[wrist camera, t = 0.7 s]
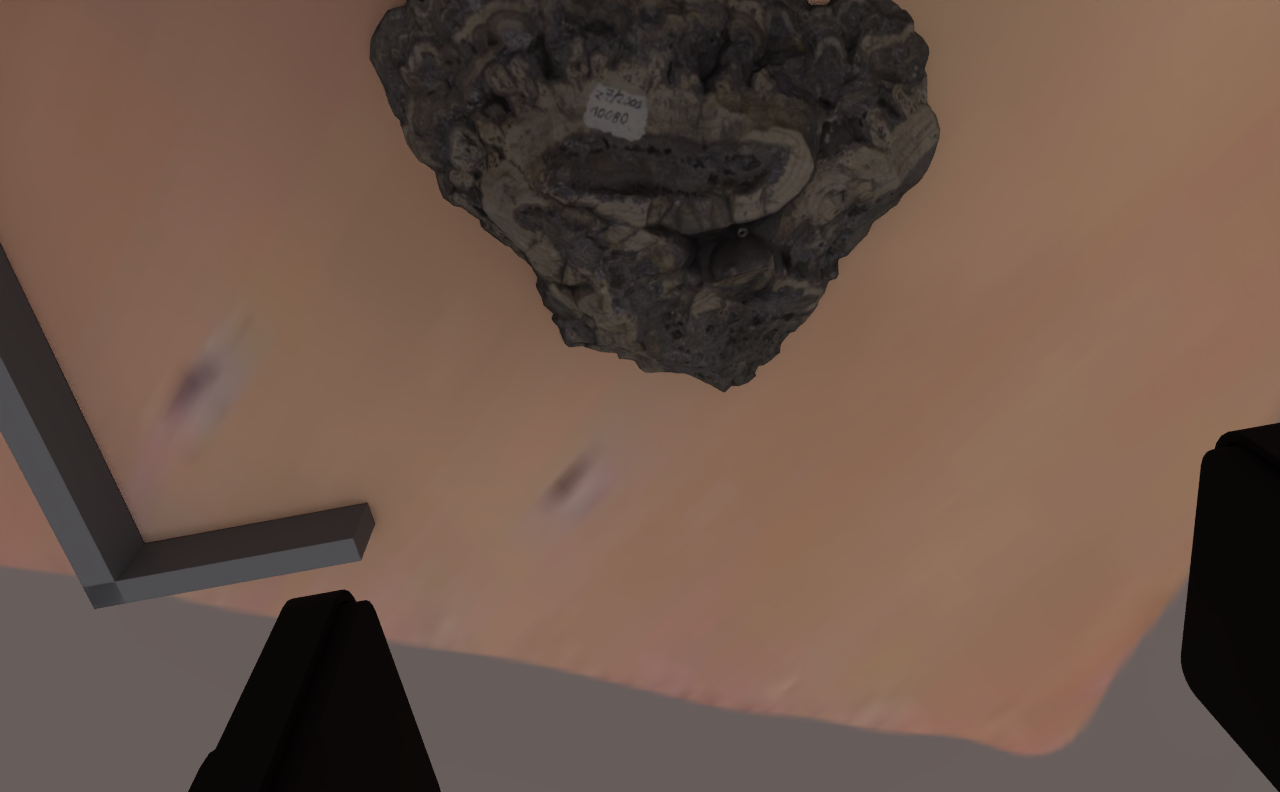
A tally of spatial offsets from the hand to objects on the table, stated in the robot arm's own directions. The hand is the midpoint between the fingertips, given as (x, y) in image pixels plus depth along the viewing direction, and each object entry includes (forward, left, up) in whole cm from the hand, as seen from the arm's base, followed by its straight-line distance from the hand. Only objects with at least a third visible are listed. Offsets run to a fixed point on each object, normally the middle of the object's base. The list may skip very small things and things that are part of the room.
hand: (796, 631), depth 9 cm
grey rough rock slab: (0, 0, -25) cm, 25 cm away
